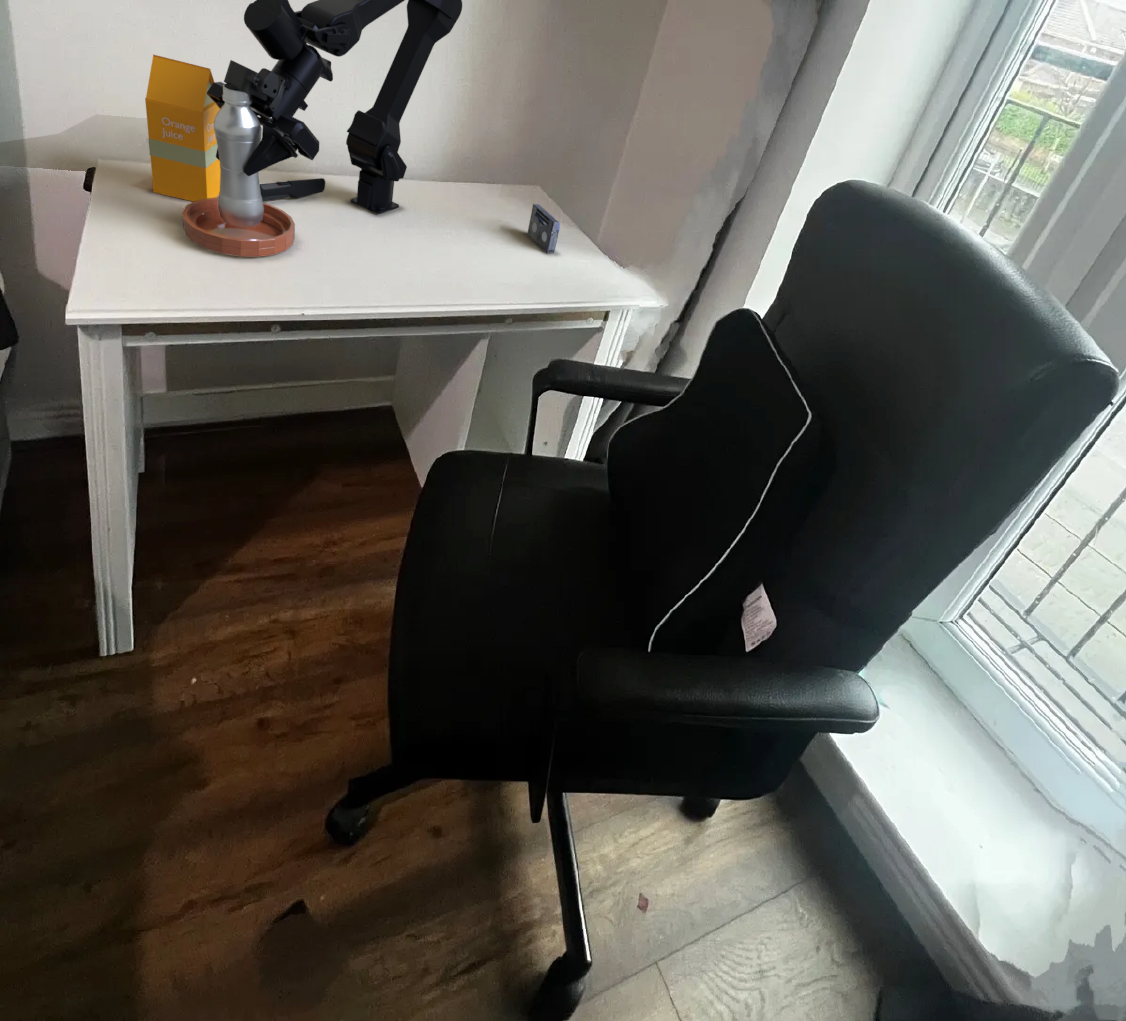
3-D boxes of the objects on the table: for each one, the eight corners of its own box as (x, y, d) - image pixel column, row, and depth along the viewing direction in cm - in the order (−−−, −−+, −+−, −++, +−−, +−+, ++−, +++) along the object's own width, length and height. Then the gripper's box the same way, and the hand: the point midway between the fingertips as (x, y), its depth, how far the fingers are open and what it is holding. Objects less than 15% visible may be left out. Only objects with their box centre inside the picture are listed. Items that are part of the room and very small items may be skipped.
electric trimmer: (329, 199, 149) (330, 181, 147) (252, 206, 139) (252, 188, 137) (317, 191, 151) (318, 173, 149) (239, 198, 140) (239, 179, 138)
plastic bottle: (271, 231, 129) (270, 95, 116) (229, 234, 125) (223, 95, 112) (253, 213, 132) (250, 80, 119) (211, 217, 128) (203, 79, 115)
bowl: (239, 207, 137) (239, 189, 136) (315, 243, 134) (316, 225, 132) (159, 229, 125) (158, 209, 123) (240, 269, 121) (240, 250, 120)
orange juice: (207, 205, 135) (201, 74, 123) (152, 192, 134) (140, 59, 122) (224, 189, 141) (220, 63, 129) (172, 177, 140) (162, 49, 128)
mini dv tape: (554, 253, 153) (561, 222, 149) (547, 253, 152) (553, 222, 148) (533, 234, 158) (540, 203, 154) (527, 234, 157) (533, 203, 153)
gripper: (214, 20, 118) (152, 108, 117) (306, 62, 112) (242, 155, 111) (259, 76, 128) (203, 157, 128) (345, 117, 123) (287, 202, 122)
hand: (231, 166), depth 122 cm, fingers closed on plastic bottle, 6 cm apart
